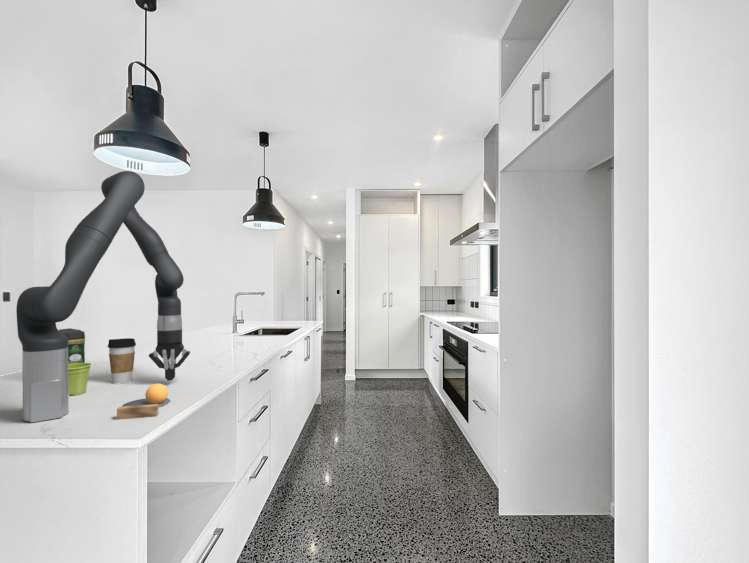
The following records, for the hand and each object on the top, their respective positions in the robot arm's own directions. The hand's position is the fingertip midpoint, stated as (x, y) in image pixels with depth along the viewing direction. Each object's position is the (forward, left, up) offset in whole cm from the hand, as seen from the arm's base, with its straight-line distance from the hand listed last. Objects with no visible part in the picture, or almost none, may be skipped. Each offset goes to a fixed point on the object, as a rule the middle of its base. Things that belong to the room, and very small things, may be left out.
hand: (170, 380), depth 139 cm
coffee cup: (+16, +12, -2) cm, 20 cm away
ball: (-22, +8, +1) cm, 23 cm away
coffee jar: (+28, +26, -2) cm, 38 cm away
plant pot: (+8, +26, -2) cm, 27 cm away
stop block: (-31, +15, -2) cm, 35 cm away
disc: (-20, +11, -2) cm, 23 cm away
